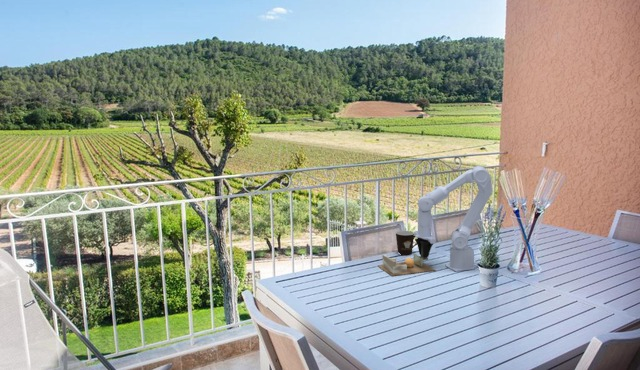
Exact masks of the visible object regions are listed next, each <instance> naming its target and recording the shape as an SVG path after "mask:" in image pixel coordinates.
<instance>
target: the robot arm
mask: <svg viewBox="0 0 640 370" xmlns="http://www.w3.org/2000/svg"><path fill="white" fill-rule="evenodd" d="M474 182H475V183H476V187H477V189H478V192H477V194H476V195H475V198H473V201H472V203H471V205H470V206H469V208H468V209H467V212H466V213H465V215H464V217H463V219H462V221H461V223H460V224H459V225H458V226H457V228H455V230H453V231H452V232H451V234H450V239H451V244H450V246H449V263H448V264H445V267H447V268H448V269H450V270H451V271H454V272H461V271H463V272H464V271H470V270H475V269H476V267H475V252H474V251H475V250H474V249H473V248H472V247H471V246H468V245H469V238H470V236H471V232H472V230H473V228H474V226H475V224H476V222H477V221H478V219H479V217H480V215H481V214H482V213H483V210H484V208H485V207H486V205H487V203H488V201H489V199H490V198H491V196H492V194H493V184H492V176H491V174H490V172H489V171H488V169H486V168H485V167H484V166H482V165H476V166H474V167H473V168H470V169H468V170H467V171H465V172H464V173H463V172H462V174H460V175H459V176H457V177H456V178H455V179H453V180H452V181H450V182H449V183H447V184H446V185H445V186H443V185H439V186H437V185H436V186H435V187H434V189H433V190H431V191H430V192H428V193H425V194H424V195H423V196H421V197H420V198H419V199H418V201H417V206H418V211H417V213H418V214H417V230H415V231H413V232H414V236H415V238H414V241H415V244H416V243H417V245H416V246H417V248H418V252H419V256H421V245H422V250H423V257H428V258H429V256H430V252H431V250H432V247H433V245H434V244H436V238H435V237H434V236H433V235H432V216H433V215H432V209H433V207H434V206H437V205H438V204H440V203H441V202H442V201H445V200H446V199H447V198H448V197H449V194H450V193H451V192H453V191H454V190H456V189H458V188H459V187H461V186H463V185H465V184H474Z"/></svg>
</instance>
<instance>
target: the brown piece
mask: <svg viewBox="0 0 640 370" xmlns="http://www.w3.org/2000/svg"><path fill="white" fill-rule="evenodd" d="M377 267H378V268H379V269H381V270H382V271H383V272H385V273H386V274H388V276H389V275H390V277H399V276H400V277H401V276H408V275H409V276H410V275H415V274H423V273H424V274H425V273H430V272H436V271H437V270H436V269H435V268H433V267H431V266H430V265H429V264H426V263H424V262H423V266H419V265H417V264H415V263H414V265H413V266H412V267H407V265H405V261H402V262H397V258H396V257H389V256H388V255H386V254H382V264H379V265H377Z"/></svg>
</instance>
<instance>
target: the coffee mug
mask: <svg viewBox="0 0 640 370" xmlns="http://www.w3.org/2000/svg"><path fill="white" fill-rule="evenodd" d="M395 238H396V247H397V253H398V252H399V253H400V254H401V255H400V256H406V257H407V256H411V255H413V254H412V253H413V248H415V247H416V246H418V245H417V243H416V242H415V244H414V241H415V239H416V237H415V236H414V231H412V230H411V231H410V230H398V231H396V232H395Z"/></svg>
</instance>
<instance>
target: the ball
mask: <svg viewBox="0 0 640 370" xmlns="http://www.w3.org/2000/svg"><path fill="white" fill-rule="evenodd" d="M404 262H405V265H407V267H412V266H413V265H414V258H413V257H412V258H411V257H407V258H405V260H404Z"/></svg>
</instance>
